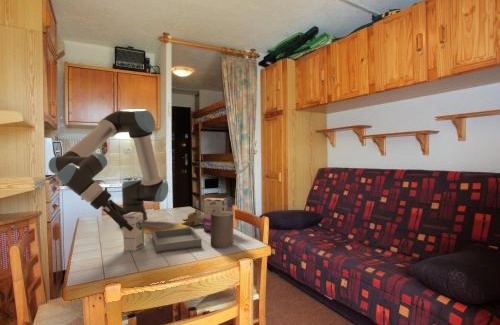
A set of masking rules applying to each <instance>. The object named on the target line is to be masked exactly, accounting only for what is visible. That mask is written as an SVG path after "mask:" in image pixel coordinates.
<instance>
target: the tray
mask: <svg viewBox="0 0 500 325" xmlns="http://www.w3.org/2000/svg"><path fill="white" fill-rule="evenodd" d="M152 242H153V247H154V250H155V254H162V253H163V254H164V253H170V252H176V251H185V250H191V249H201V248H202V237H201V236H200V235H199V234H198V233H197V232H196V231H195V229H194V228H193V227H192V226H188V227H179V228H171V229H170V228H169V229H161V230H160V229H159V230H153V231H152Z"/></svg>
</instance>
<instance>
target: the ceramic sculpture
mask: <svg viewBox="0 0 500 325" xmlns="http://www.w3.org/2000/svg"><path fill="white" fill-rule="evenodd" d="M182 221H183V222H182V223H181V225H182V226H186V227H187V226H188V227H192V226H198V225H201V224H202V225H204V212H201V211H200V210H199V209H195V210H194V211H192V212H189V214H188V215H187V218H185V219H184V218H183V219H182ZM185 221H186V222H185Z"/></svg>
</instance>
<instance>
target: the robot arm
mask: <svg viewBox="0 0 500 325" xmlns="http://www.w3.org/2000/svg"><path fill="white" fill-rule="evenodd" d="M155 125H156V121H155V118H154V116H153V114H152V113H151V112H150V110H147V109H141V108H140V109H138V108H136V109H120V110H119V109H118V110H115V111H113V112H111V113H109V114H108V115H106V116H105V117H104V118H102V119H100V120H99V121H98V124H97V126H96V127H94V129H92V130H91V131H90V132H89V133H88V134H86V135H85V136H84V137H83V138H81V140H79V141H78V142H77V143H76V144H75V145H73V146H72V147H71V148H70V149H68V150H67V151H66V152H65V153H64V154H63V155H58V156H54V157H51V158H50V159H49V161H48V170H49V171H50V172H51V173H52V174H55V175H56V177H57V179H58V180H59V181H60V182H61V183H62V184H63V185H64V186H66V187H67V188H68V189H70V190H71V191H72V192H74V193H75V194H77V196H79V197H80V200H81V201H86V202H87V203H89V204H90V206H92V207H93V208H94V209H95V210H99V209H100V208H101V207H102V211H103V212H105V213H106V214H107V215H108V216H109V217H110V218H111V219H112V220H113V221H114V222H115V223H116V224H117V225H118V226H119V228H120V229H123V227H124V228H125V229H126V230H127V231H129V232H130V233H131V234H132V235H134V236H135V237H137V236H138V235H139V234H140V233H141V231H140V230H139V229H137V228H136V227H135V226H134V225H133V224H131V223H130V222H129V221H127V220H126V219H125V218H124V217H123V215H126V214H128V213H131V212H141V213H143V220H146V219H147V218H148V213H147V211H146V207H145V202H147V203H148V202H150V203H151V202H153V203H162V202H164V201H165V200H166V198H167V197H168V193H169V184H168V182H166V181H163V180H164V179H163V177H162V176H161V175H159V170H158V166H157V162H156V157H155V152H154V147H153V143H152V138H151V136H152V135H153V131H155V128H156V126H155ZM120 133H128V136H129V138H131V140H133V142H134V146H135V147H134V148H135V150H136V151H135V152H136V155H137V159H138V162H139V167H140V168H139V169H140V171H141V176H142V178H137V179H131V180H125V181H123V182H122V186H121V193H122V195H121V197H122V199H121V200H122V205H121V206H120V205H118V204H117V203H116V202H114V201H113V200H112V199H111V197H112V194H111V193H110V192H108V191H107V190H106V189H104V187H103V186H101V185H100V184H99V183H98V182H97V181H95V180H94V179H93V178H95V177H96V176H97V175H98V174H100V173H101V172H103V170H104V169H105V168H106V167H107V165H108V159H107V157H106V155H104V154H103V153H101V152H98V151H97V150H98V149H99V148H100V147H101V146H102V145H103V144H104V143H105V142H106V141H108V139H109V138H112V137H115V136H116V135H117V134H120Z"/></svg>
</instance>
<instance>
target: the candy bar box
mask: <svg viewBox="0 0 500 325" xmlns="http://www.w3.org/2000/svg"><path fill="white" fill-rule="evenodd" d="M221 210H222V211H228V198H223V197H222V198H217V197H206V198H203V213H204V224H203V232H206V233H207V232H208V233H211V213H212V212H215V211H221Z"/></svg>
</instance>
